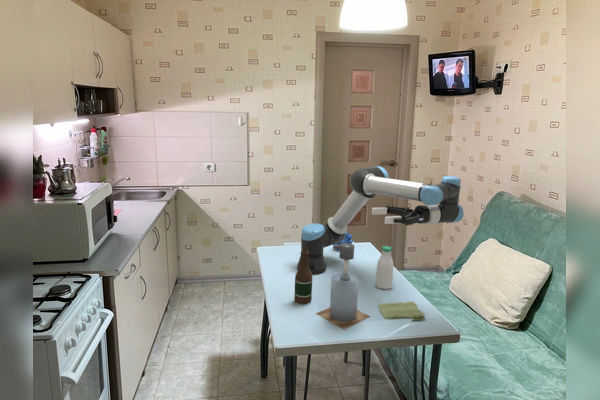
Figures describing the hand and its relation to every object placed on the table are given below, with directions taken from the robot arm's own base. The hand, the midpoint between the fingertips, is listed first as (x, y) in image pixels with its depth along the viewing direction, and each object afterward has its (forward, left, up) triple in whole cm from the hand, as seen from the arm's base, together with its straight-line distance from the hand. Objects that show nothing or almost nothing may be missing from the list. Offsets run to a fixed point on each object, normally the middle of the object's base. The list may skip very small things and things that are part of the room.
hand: (378, 215), depth 171 cm
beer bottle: (-23, -18, -42) cm, 52 cm away
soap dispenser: (-3, -14, -41) cm, 43 cm away
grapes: (-57, +45, -42) cm, 84 cm away
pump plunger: (-4, -15, -23) cm, 28 cm away
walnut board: (-3, -14, -42) cm, 44 cm away
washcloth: (+10, +7, -43) cm, 44 cm away
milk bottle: (-11, +24, -42) cm, 50 cm away
